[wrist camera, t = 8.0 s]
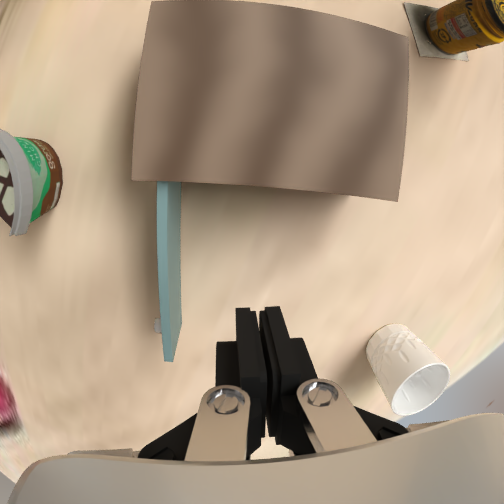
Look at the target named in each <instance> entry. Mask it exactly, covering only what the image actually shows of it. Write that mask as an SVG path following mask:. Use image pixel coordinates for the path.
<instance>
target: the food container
mask: <svg viewBox="0 0 504 504" xmlns="http://www.w3.org/2000/svg"><path fill="white" fill-rule="evenodd" d="M62 184H63V180H62V168H61V164H60V161H59V157H58V156H57V154H56V152H55V151H54V149H53V148H52V147H51V146H50V145H49V144H47V143H46V142H44V141H42V140H37V139H29V138H21V137H13V136H12V135H10V134H9V133H8V132H6V131H4V130H2V129H0V217H1V218H2V219H3V220H4V221H5V222H6V223H7V224H8V225H9V226H10V227H11V231H10V235H9V236H11V235H13V234H15V236H17V235H21V234H26V232H27V230H28V227H29V223H31V222H32V221H34V220H35V219H37V218H38V217H40V216H41V215H43V214H44V213H46V212H47V211H49V210H51V209H52V208H54V207H55V206H56V205H57V203H58V201H59V198H60V195H61V189H62Z"/></svg>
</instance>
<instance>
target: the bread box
mask: <svg viewBox="0 0 504 504" xmlns="http://www.w3.org/2000/svg"><path fill="white" fill-rule="evenodd" d="M408 81H409V44H408V37H405V36H403V35H400V34H397V33H394V32H391V31H388V30H385V29H382V28H379V27H376V26H372V25H369V24H366V23H362V22H359V21H355V20H351V19H347V18H343V17H339V16H335V15H331V14H326V13H322V12H317V11H312V10H306V9H301V8H295V7H288V6H281V5H274V4H266V3H256V2H245V1H229V0H166V1H152V2H151V7H150V12H149V17H148V22H147V27H146V33H145V39H144V45H143V52H142V58H141V66H140V73H139V81H138V90H137V99H136V110H135V122H134V136H133V153H132V179H131V180H135V181H174V182H198V183H217V184H234V185H248V186H262V187H274V188H285V189H296V190H306V191H316V192H325V193H334V194H343V195H351V196H359V197H367V198H374V199H381V200H388V201H395V202H398V196H399V189H400V182H401V174H402V166H403V157H404V147H405V136H406V123H407V107H408Z"/></svg>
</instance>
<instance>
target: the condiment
mask: <svg viewBox="0 0 504 504" xmlns="http://www.w3.org/2000/svg"><path fill="white" fill-rule="evenodd" d="M404 5H405V8H406V12H407V15H408V18H409V22H410V25H411V28H412V31H413V35H414V37H415V40H416V44H417V47H418V50H419V54H420V56H427V57H439V58H447V59H456V60H464V61H469V60H468V56H467V53H466V51H469V50H474V49H477V48H481V47H484V46H488V45H493V44H497V43H500V42H503V41H504V0H456V1H454V2H452V3H450V4H448V5H446V6H444V7H441V8H439V9H438V8H433V7H428V6H423V5H417V4H412V3H404ZM425 14H426V15H425ZM427 40H428V41H429V42H430V43H431V44H430V43H429V42H428V41H427Z"/></svg>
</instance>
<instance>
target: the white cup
mask: <svg viewBox="0 0 504 504" xmlns="http://www.w3.org/2000/svg"><path fill="white" fill-rule="evenodd" d="M366 355H367V359H368V361H369V363H370V365H371V367H372V369H373V372H374V374H375V376H376V378H377V380H378V383H379V385H380V387H381V389H382V391H383V393H384V394H385V396H386V398H387V400H388V402H389V404H390V407H391V409H392V411H393V412H394V413H395V414H397V415H401V416H407V415H412V414H415V413H418V412H420V411H422V410H424V409H425V408H427V407H428V406H430V405H431V404H432V403H433V402H435V401H436V399H438V398H439V397H440V395H441V394H442V393H443V391H444V390H445V388H446V387H447V385H448V382H449V379H450V370H449V367H448V366H447V365H446V364H445V363H444V362H443V361H442V360H441V359H440V358H439V357H438V356H437V355H436V354H435V353H434V352H433V351H432V350H431V349H430V348H429V347H428V346H427V345H426V344H425V343H424V342H423V341H422V340H420V339H419V338H418V337H417V336H415V335H414V334H413V333H412V332H411V331H410V330H409V329H408V328H407V327H406V326H405V325H402V324H398V323H394V324H390V325H386V326H384V327H383V328H381V329H380V330H378V331H376V333H375V334H374V335H373V336H372V337H371V339H370V340H369V342H368V345H367V348H366Z"/></svg>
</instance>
